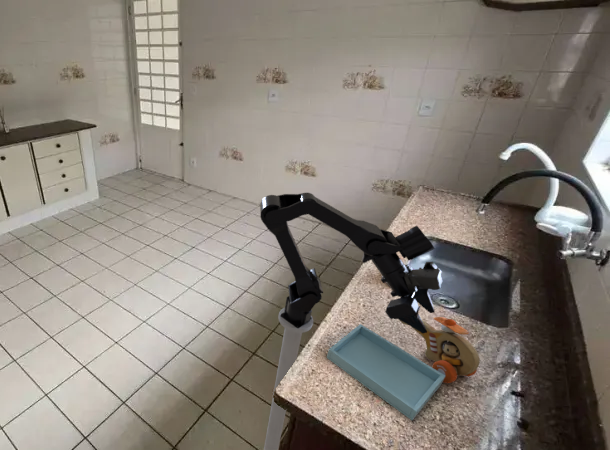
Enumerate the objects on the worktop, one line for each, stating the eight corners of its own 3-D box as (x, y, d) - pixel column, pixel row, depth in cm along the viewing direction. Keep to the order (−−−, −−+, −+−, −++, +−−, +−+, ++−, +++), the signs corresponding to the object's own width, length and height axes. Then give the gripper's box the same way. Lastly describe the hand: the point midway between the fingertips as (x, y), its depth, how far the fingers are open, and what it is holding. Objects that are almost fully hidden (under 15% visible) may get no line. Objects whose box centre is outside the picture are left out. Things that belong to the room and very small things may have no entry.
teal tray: (326, 357, 89) (328, 349, 87) (357, 332, 96) (360, 323, 95) (412, 420, 74) (416, 411, 72) (441, 384, 81) (445, 375, 80)
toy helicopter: (451, 392, 80) (474, 349, 73) (381, 328, 97) (395, 289, 91) (477, 382, 82) (502, 340, 75) (404, 322, 99) (419, 283, 93)
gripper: (416, 275, 75) (460, 338, 74) (433, 241, 87) (470, 295, 86) (368, 289, 83) (407, 346, 82) (390, 256, 95) (424, 305, 94)
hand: (429, 322), depth 86 cm, fingers open, 9 cm apart
